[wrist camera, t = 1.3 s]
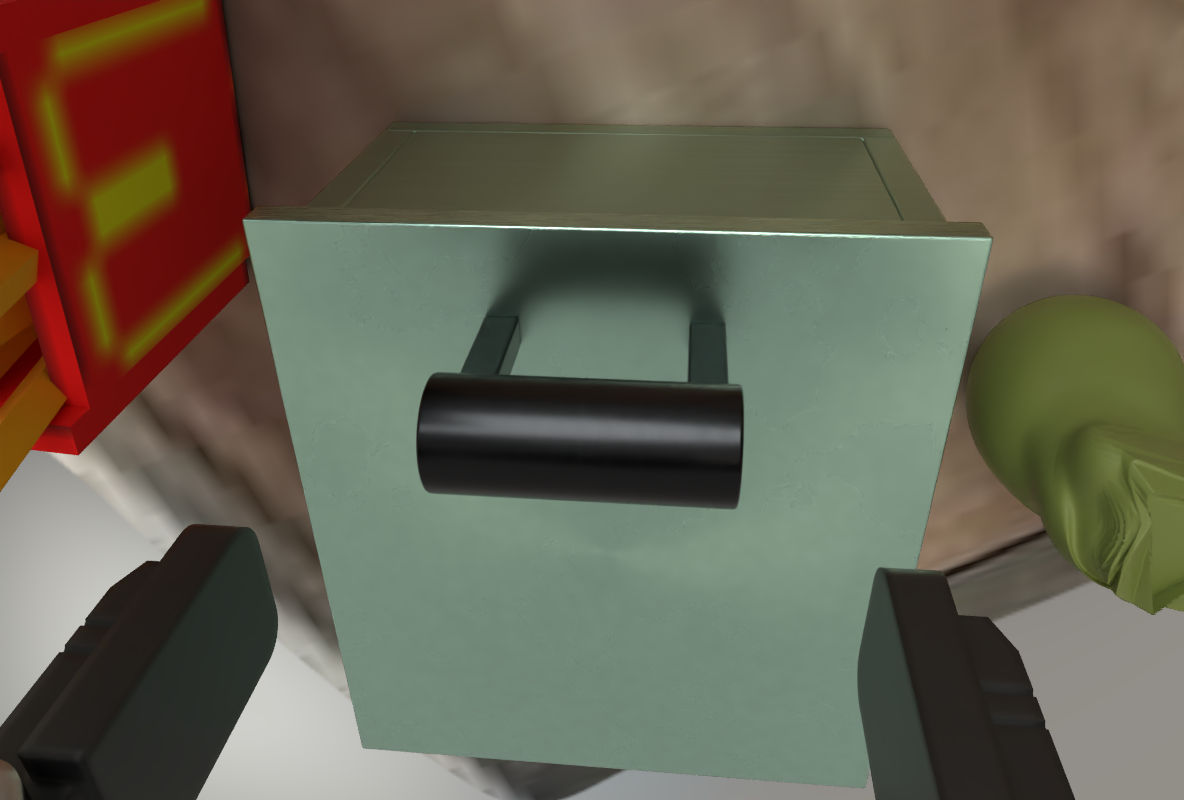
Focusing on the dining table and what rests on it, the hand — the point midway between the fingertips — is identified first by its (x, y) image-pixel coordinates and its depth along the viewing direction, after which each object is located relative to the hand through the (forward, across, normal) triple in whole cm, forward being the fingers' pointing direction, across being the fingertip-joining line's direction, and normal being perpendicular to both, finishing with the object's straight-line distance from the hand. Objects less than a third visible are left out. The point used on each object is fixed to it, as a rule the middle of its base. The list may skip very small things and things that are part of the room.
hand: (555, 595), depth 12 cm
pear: (+17, -12, +5) cm, 22 cm away
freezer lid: (+8, 0, +5) cm, 10 cm away
